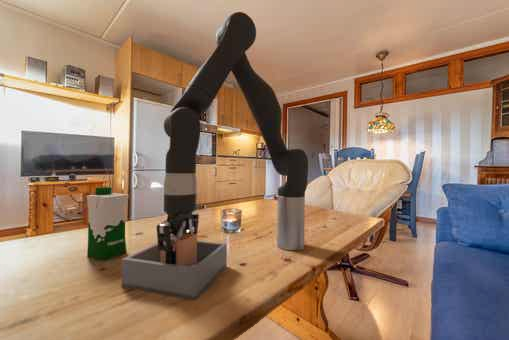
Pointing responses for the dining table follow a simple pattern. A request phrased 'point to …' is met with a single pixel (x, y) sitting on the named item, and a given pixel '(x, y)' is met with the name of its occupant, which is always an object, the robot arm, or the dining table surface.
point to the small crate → (184, 250)
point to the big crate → (174, 271)
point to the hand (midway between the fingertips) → (179, 260)
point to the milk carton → (106, 224)
